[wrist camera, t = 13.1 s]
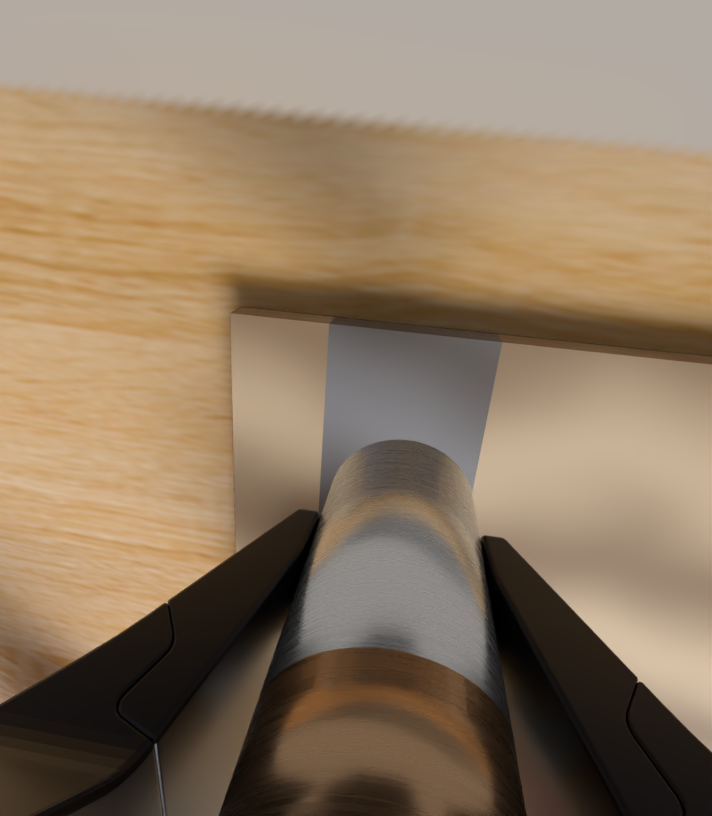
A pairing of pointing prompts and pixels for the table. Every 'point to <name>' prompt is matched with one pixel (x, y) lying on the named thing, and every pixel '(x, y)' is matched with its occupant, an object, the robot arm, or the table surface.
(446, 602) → the metal peg
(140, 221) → the table surface
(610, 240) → the table surface
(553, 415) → the beige flat piece
